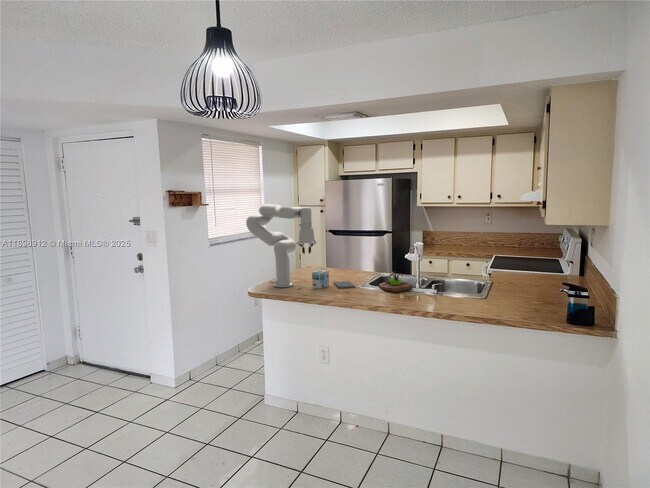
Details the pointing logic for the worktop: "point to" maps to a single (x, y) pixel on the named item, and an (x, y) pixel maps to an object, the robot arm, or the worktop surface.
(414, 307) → the worktop surface
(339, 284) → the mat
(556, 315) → the worktop surface
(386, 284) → the plant
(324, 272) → the light bulb box
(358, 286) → the worktop surface
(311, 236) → the robot arm
